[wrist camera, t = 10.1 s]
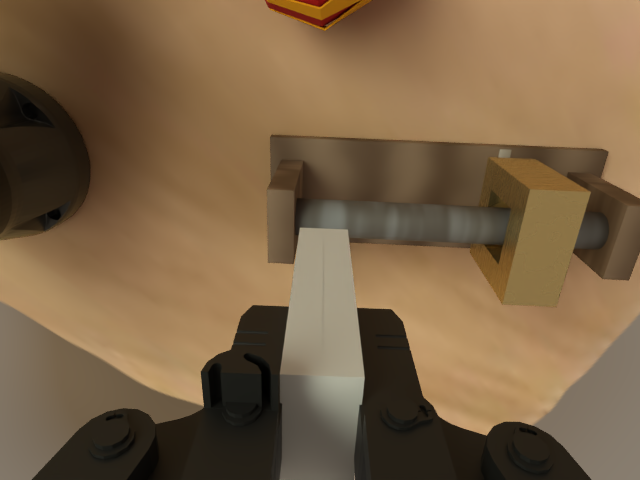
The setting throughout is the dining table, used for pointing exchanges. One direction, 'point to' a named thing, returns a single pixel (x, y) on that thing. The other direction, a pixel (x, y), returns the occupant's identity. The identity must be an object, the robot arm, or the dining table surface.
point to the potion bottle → (316, 10)
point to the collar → (530, 230)
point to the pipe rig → (432, 196)
